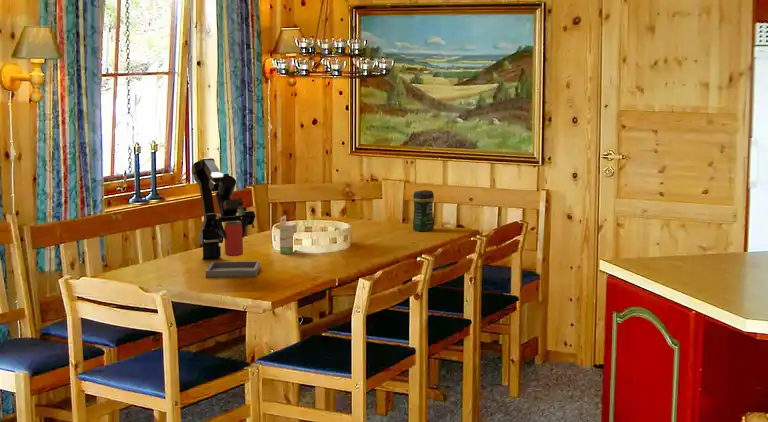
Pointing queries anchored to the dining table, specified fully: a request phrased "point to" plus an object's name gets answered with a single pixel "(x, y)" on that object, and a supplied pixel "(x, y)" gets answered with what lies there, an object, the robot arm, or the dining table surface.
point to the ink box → (286, 236)
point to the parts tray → (233, 269)
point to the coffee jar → (423, 210)
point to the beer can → (233, 239)
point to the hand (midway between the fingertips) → (234, 237)
